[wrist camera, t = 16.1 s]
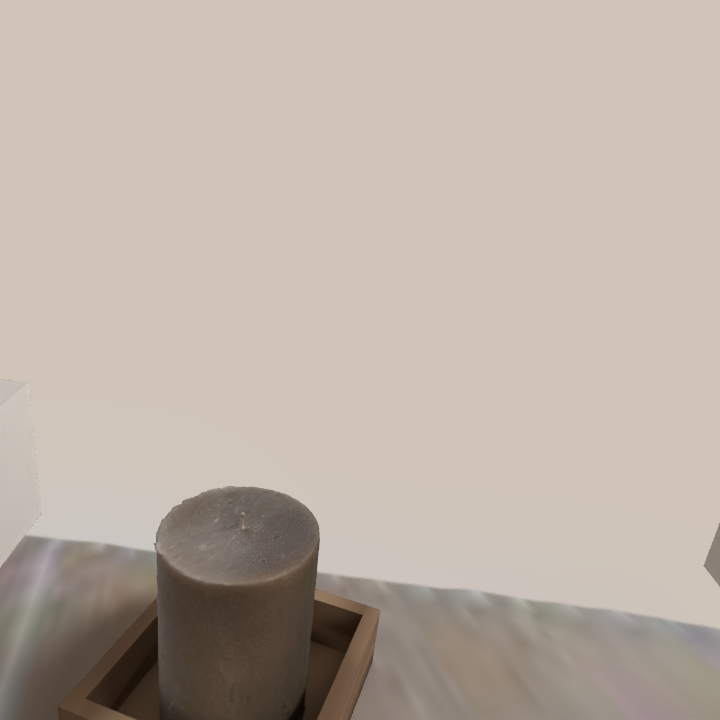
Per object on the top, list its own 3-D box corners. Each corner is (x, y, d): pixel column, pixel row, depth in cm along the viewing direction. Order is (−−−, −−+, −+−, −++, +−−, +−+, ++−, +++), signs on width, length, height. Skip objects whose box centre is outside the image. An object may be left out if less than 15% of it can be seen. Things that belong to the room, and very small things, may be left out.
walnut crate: (372, 661, 47) (380, 609, 46) (293, 868, 34) (300, 806, 32) (197, 601, 51) (198, 551, 49) (63, 767, 38) (58, 706, 36)
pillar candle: (332, 722, 41) (355, 532, 36) (189, 799, 36) (191, 588, 30) (264, 625, 48) (275, 455, 43) (136, 677, 43) (131, 489, 38)
